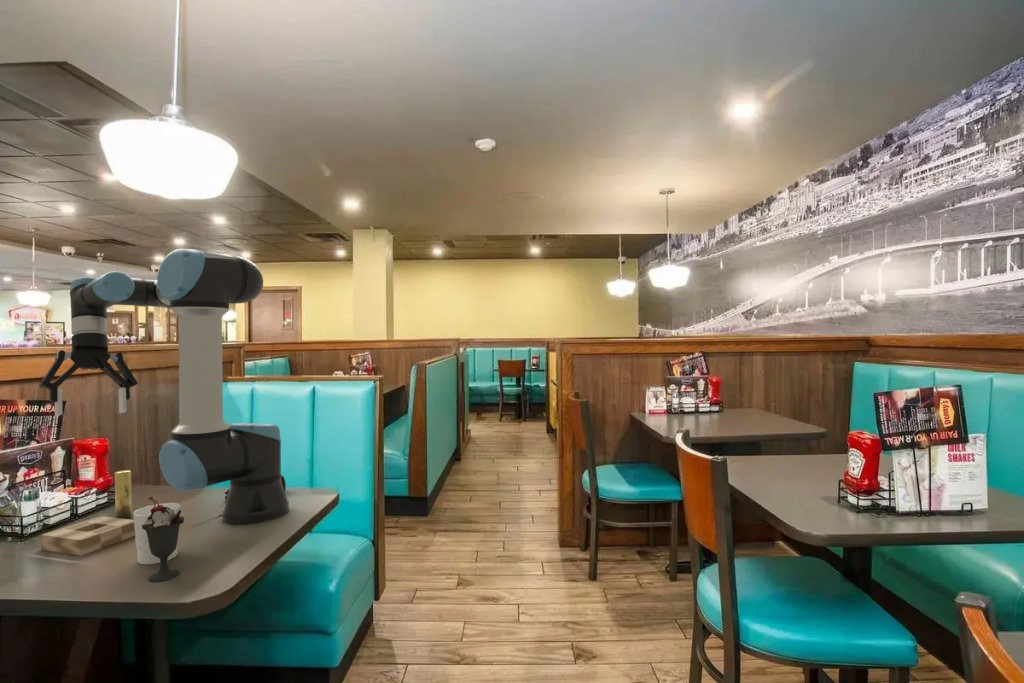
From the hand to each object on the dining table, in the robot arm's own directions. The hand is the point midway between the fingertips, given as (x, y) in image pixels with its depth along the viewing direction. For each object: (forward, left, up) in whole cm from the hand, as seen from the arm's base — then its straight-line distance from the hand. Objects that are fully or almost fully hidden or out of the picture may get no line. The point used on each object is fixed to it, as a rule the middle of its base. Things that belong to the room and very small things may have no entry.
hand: (92, 413), depth 135 cm
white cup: (-44, +17, -26) cm, 54 cm away
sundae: (-53, +23, -26) cm, 64 cm away
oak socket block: (-22, +15, -26) cm, 37 cm away
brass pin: (-15, +3, -25) cm, 30 cm away
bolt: (-31, -22, -26) cm, 46 cm away
